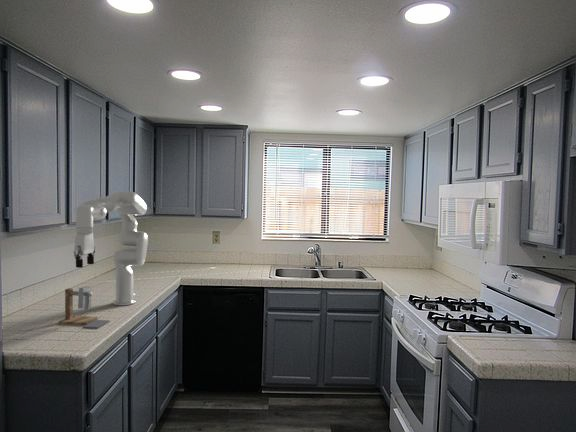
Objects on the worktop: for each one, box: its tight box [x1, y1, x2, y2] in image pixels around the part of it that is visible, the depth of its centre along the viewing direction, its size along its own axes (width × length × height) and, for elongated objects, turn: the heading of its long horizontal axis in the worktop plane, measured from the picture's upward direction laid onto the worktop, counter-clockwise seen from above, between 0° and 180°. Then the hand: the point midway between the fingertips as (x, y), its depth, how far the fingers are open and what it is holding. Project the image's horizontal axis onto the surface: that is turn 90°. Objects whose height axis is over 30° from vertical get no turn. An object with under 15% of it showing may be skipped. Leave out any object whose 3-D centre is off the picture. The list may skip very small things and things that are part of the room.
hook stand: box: [58, 288, 99, 326], centre depth 208 cm, size 14×10×16 cm
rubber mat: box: [82, 319, 110, 329], centre depth 204 cm, size 11×8×1 cm
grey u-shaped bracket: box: [77, 285, 93, 311], centre depth 207 cm, size 8×2×11 cm, turn 175°
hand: (85, 265), depth 207 cm, fingers open, 9 cm apart
